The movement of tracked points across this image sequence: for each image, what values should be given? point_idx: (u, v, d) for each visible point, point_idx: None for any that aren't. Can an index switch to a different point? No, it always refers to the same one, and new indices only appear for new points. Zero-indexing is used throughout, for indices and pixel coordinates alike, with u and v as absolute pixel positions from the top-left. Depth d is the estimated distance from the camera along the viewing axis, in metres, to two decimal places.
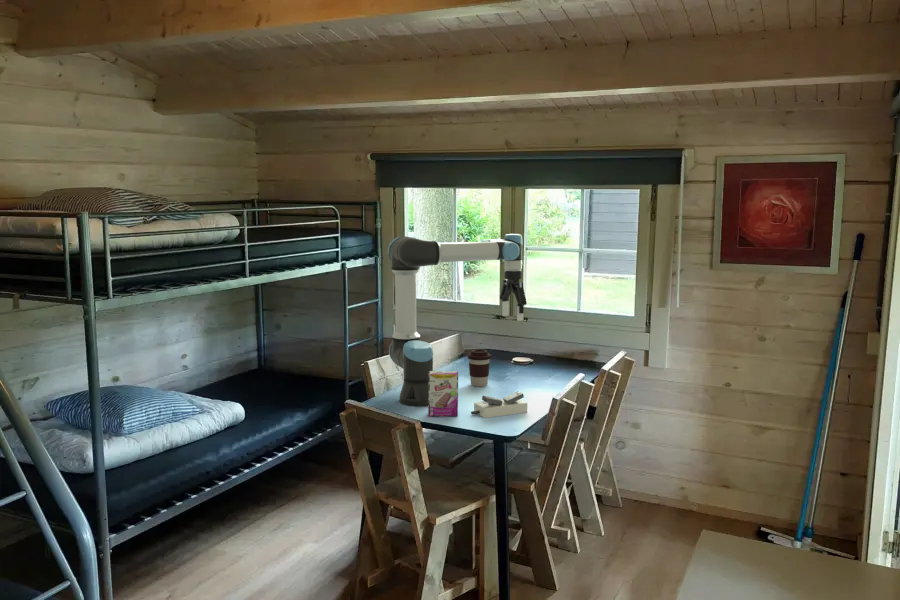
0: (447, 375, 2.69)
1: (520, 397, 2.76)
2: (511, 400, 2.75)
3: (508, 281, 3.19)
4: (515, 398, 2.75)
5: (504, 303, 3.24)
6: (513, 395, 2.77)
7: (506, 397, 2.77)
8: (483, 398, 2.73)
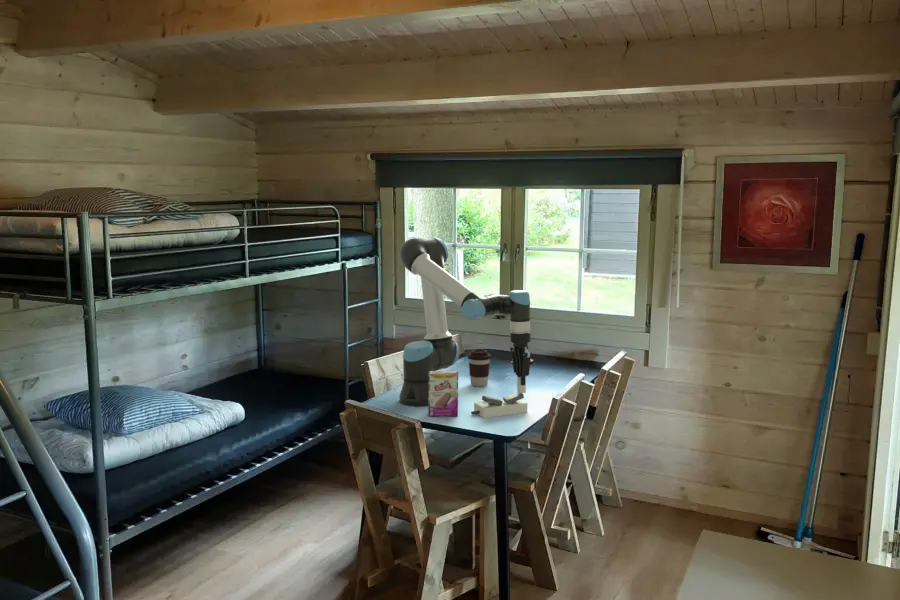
0: (447, 375, 2.69)
1: (520, 397, 2.76)
2: (511, 400, 2.75)
3: (514, 343, 2.77)
4: (515, 398, 2.75)
5: None
6: (513, 395, 2.77)
7: (506, 396, 2.77)
8: (483, 398, 2.73)
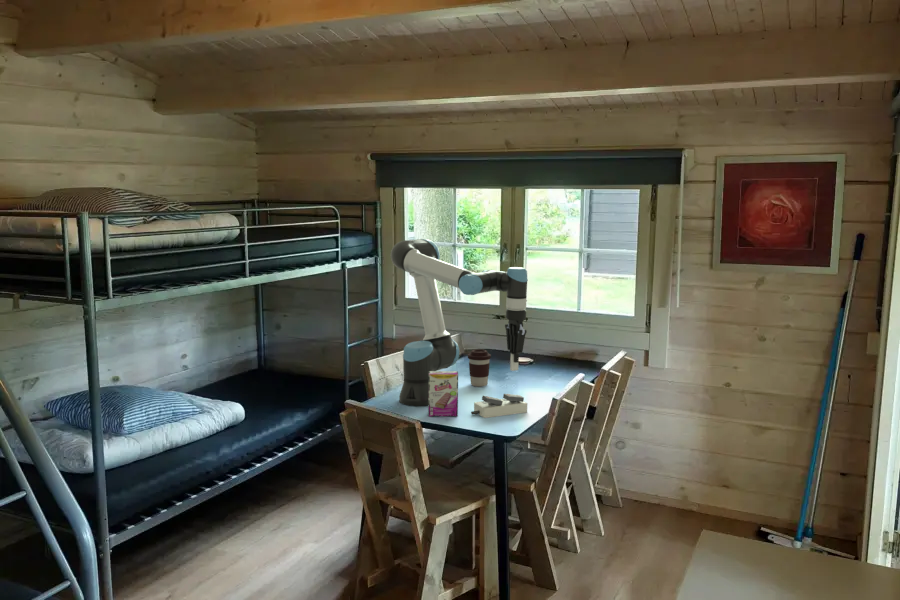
0: (447, 375, 2.69)
1: (520, 400, 2.76)
2: (511, 398, 2.74)
3: (509, 320, 2.77)
4: (515, 398, 2.75)
5: None
6: (514, 395, 2.77)
7: (507, 394, 2.77)
8: (483, 398, 2.73)
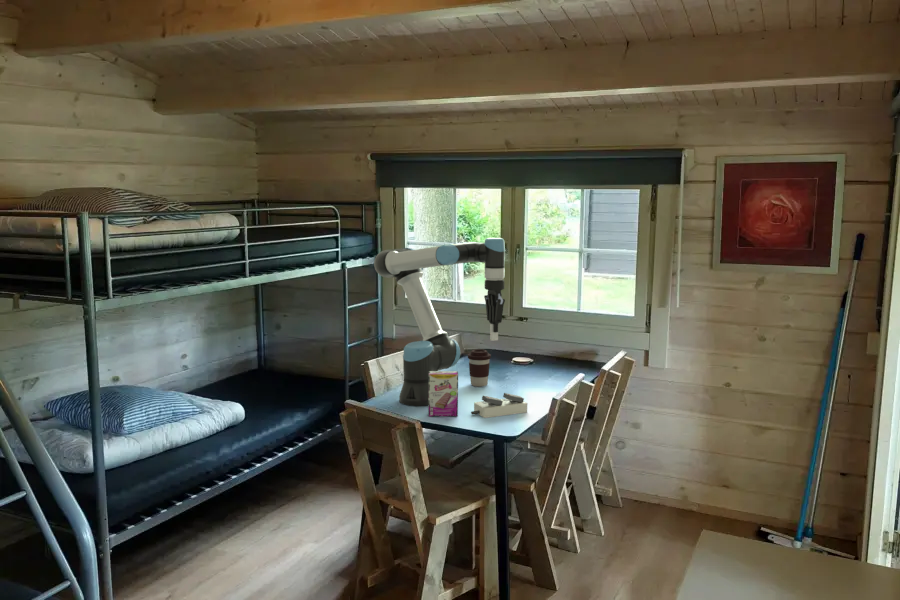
0: (447, 375, 2.69)
1: (520, 400, 2.76)
2: (511, 397, 2.74)
3: (488, 290, 2.80)
4: (515, 398, 2.75)
5: None
6: (514, 395, 2.77)
7: None
8: (483, 398, 2.73)
